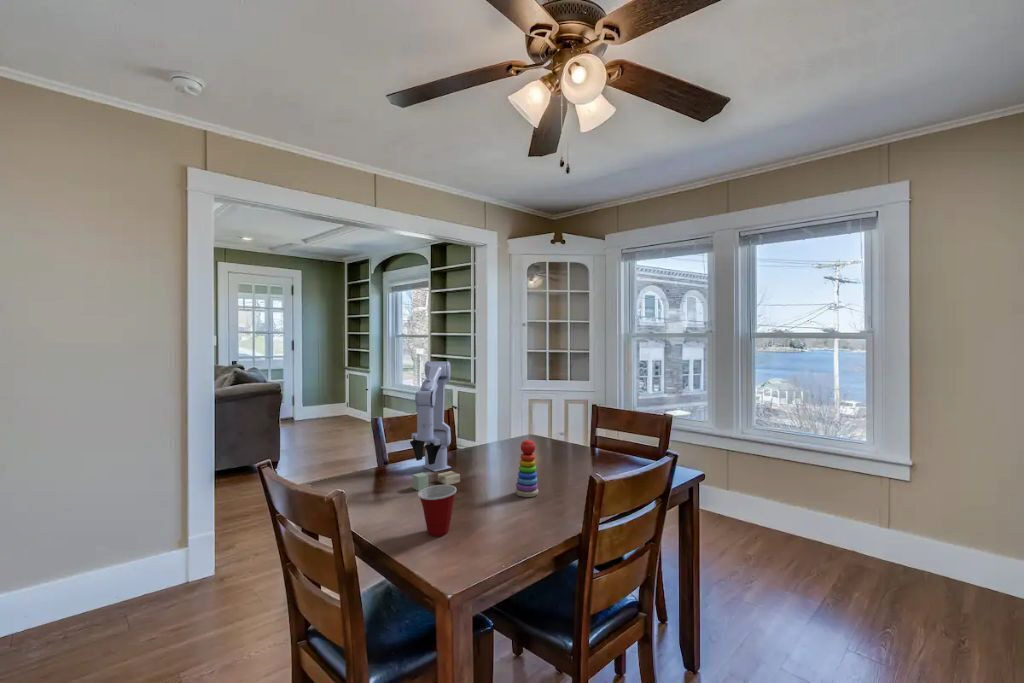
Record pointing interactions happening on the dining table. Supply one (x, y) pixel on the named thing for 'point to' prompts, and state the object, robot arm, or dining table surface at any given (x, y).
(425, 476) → the sage block
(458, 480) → the maple base
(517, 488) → the stacking toy
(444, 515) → the plastic cup
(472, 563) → the dining table surface
